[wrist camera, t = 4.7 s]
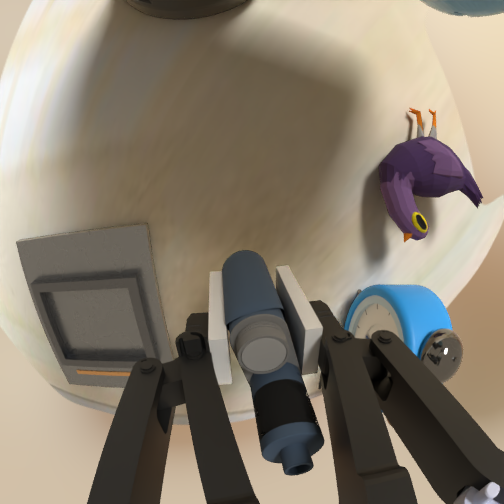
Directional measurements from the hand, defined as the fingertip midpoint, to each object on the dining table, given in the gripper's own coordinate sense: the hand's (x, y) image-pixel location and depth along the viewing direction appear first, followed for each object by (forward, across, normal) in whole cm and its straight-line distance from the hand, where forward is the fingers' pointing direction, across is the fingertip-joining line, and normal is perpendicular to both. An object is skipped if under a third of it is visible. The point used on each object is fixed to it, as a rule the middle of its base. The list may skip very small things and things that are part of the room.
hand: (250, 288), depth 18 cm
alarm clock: (+10, +15, -11) cm, 21 cm away
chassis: (+10, -16, -8) cm, 21 cm away
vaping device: (+1, 0, 0) cm, 1 cm away
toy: (+11, +20, +6) cm, 23 cm away
